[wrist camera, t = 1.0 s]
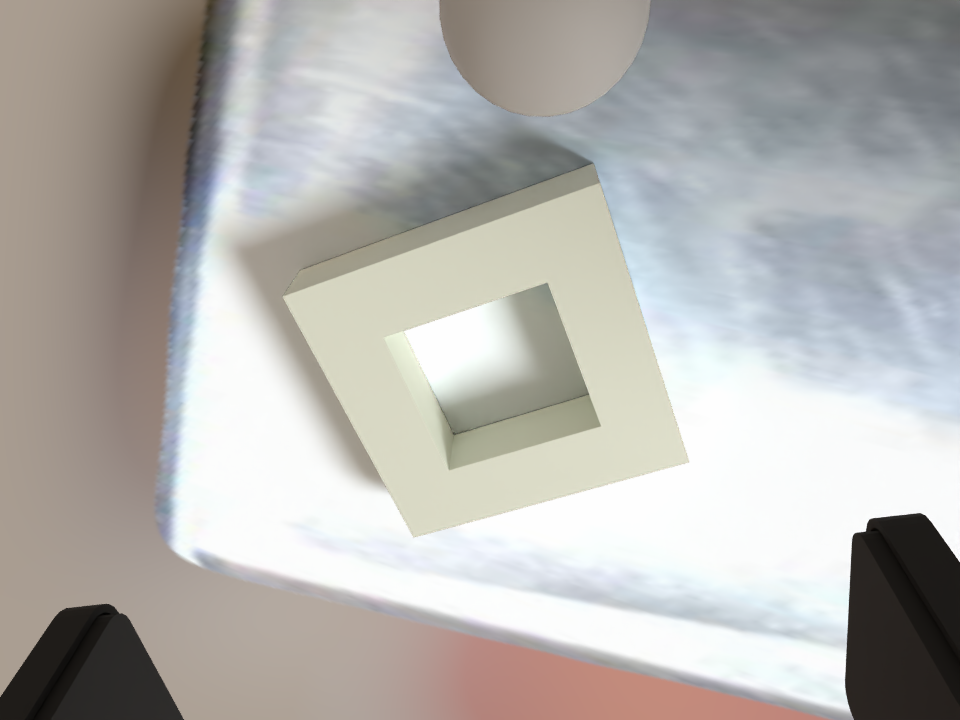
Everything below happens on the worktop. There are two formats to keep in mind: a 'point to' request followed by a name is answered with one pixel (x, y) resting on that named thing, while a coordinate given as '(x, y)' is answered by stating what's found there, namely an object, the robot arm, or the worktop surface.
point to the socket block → (470, 283)
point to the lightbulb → (543, 49)
